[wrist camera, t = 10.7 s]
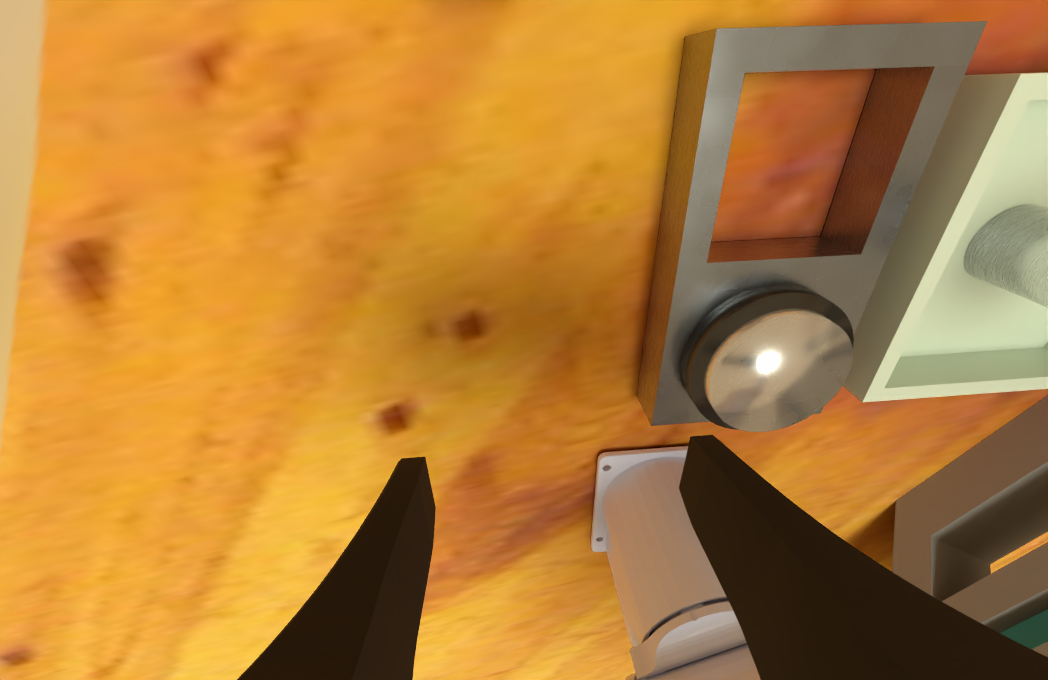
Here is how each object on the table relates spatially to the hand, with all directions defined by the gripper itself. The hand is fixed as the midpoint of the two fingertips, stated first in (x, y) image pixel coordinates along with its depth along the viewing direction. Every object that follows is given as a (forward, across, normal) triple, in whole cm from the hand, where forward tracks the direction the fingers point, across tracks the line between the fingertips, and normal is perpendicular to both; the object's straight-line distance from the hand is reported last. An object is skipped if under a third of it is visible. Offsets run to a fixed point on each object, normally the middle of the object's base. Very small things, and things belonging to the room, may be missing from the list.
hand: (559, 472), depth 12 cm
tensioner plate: (+10, -10, -2) cm, 15 cm away
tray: (+10, -23, -2) cm, 25 cm away
